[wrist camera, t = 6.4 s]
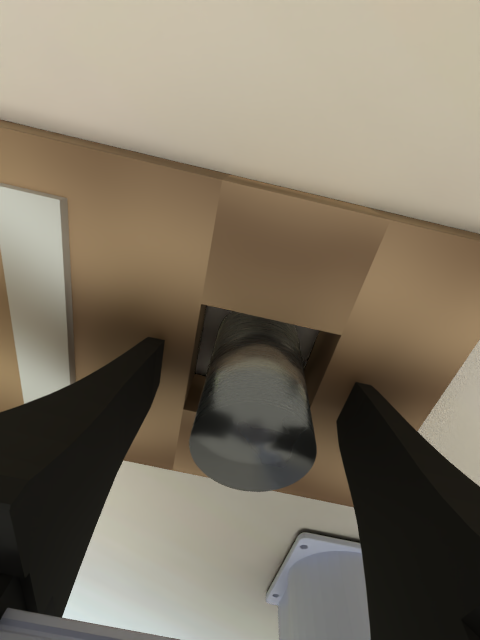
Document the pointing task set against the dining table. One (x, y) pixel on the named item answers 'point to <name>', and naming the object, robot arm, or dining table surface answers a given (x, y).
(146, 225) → the jig
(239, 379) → the mottled grey cylinder
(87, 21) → the dining table surface
